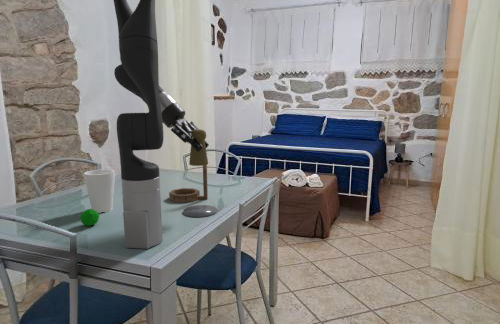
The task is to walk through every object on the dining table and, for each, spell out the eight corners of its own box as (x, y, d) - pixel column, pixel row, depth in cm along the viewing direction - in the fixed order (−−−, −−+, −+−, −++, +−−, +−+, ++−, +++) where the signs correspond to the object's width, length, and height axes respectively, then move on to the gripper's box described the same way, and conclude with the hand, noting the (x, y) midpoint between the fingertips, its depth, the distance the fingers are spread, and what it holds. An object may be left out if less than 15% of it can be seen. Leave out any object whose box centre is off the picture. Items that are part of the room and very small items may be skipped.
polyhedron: (78, 225, 107) (77, 209, 106) (95, 221, 110) (94, 206, 109) (85, 229, 103) (83, 213, 102) (102, 225, 106) (101, 209, 106)
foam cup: (88, 207, 123) (85, 170, 121) (117, 204, 127) (114, 168, 124) (86, 216, 115) (83, 176, 112) (117, 212, 118) (114, 173, 116)
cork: (204, 166, 112) (203, 130, 110) (186, 165, 113) (185, 130, 111) (210, 162, 118) (209, 128, 116) (193, 161, 119) (192, 128, 117)
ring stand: (203, 203, 128) (202, 164, 126) (166, 201, 130) (164, 163, 127) (210, 195, 138) (209, 159, 136) (175, 194, 140) (174, 158, 138)
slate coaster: (213, 217, 112) (213, 216, 112) (178, 216, 114) (178, 214, 114) (220, 207, 123) (220, 205, 123) (189, 206, 125) (188, 204, 124)
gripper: (164, 101, 107) (204, 143, 106) (183, 101, 121) (218, 137, 120) (148, 119, 109) (187, 160, 109) (169, 116, 123) (203, 153, 122)
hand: (203, 148), depth 114 cm, fingers closed on cork, 5 cm apart
